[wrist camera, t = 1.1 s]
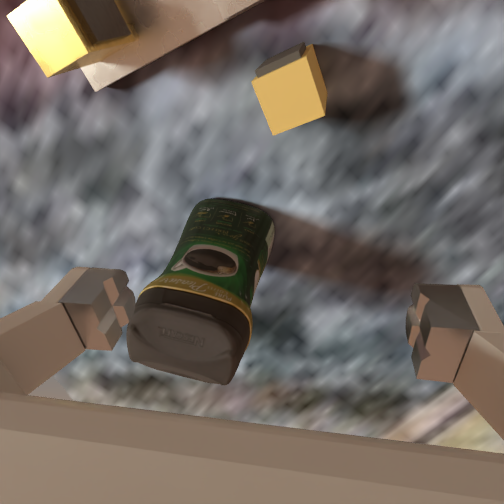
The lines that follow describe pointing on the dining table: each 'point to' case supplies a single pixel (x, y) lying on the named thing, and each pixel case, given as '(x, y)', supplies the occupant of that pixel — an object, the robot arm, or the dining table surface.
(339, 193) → the dining table surface
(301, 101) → the yellow block grey top
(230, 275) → the coffee jar
